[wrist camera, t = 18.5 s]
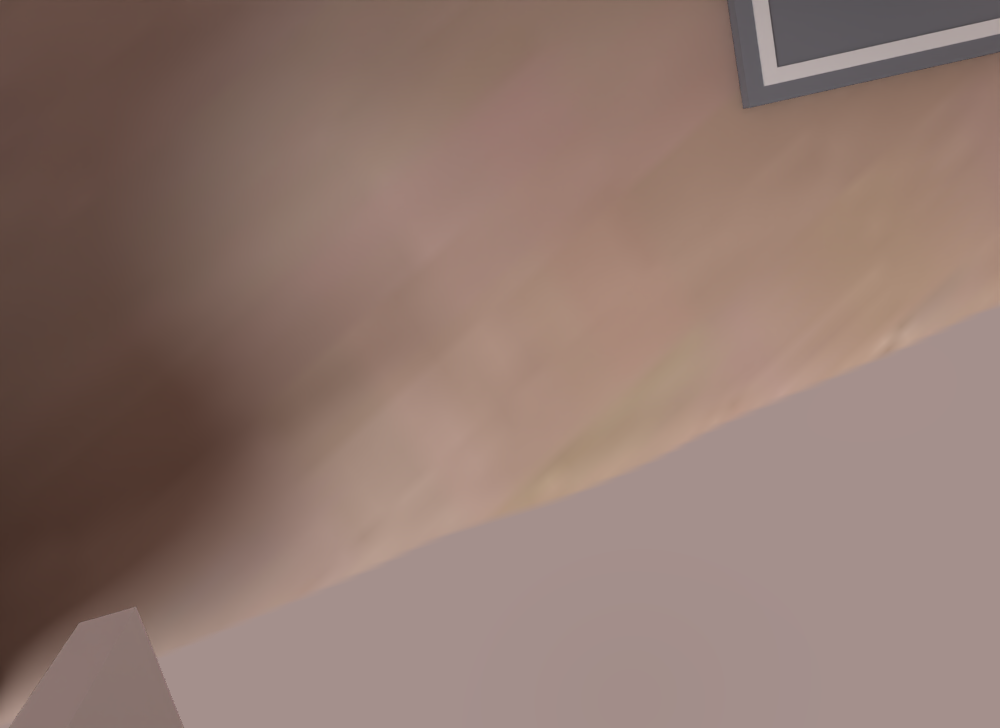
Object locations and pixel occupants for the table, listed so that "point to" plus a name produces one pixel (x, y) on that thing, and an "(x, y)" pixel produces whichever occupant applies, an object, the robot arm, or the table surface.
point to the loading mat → (851, 41)
